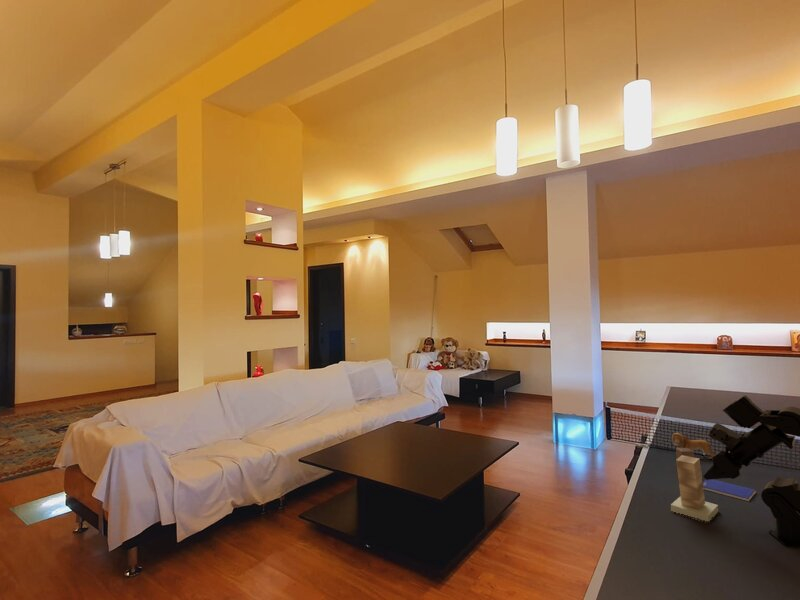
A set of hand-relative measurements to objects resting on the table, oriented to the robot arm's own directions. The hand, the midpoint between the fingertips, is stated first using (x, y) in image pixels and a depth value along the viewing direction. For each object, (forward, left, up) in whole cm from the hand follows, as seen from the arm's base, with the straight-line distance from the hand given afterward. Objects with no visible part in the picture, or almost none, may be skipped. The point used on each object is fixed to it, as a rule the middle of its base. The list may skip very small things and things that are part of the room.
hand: (709, 473), depth 118 cm
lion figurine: (+47, -16, -12) cm, 51 cm away
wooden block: (+32, -7, -12) cm, 35 cm away
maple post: (+3, +4, -10) cm, 11 cm away
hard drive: (+18, -13, -13) cm, 26 cm away
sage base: (+3, +3, -13) cm, 14 cm away
